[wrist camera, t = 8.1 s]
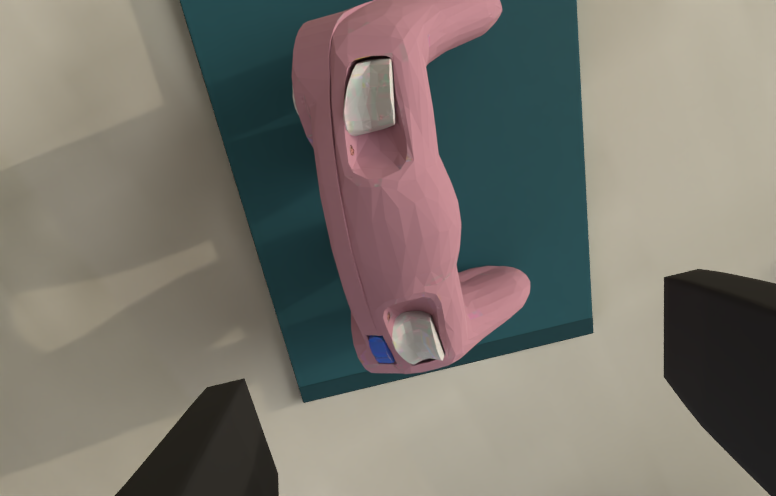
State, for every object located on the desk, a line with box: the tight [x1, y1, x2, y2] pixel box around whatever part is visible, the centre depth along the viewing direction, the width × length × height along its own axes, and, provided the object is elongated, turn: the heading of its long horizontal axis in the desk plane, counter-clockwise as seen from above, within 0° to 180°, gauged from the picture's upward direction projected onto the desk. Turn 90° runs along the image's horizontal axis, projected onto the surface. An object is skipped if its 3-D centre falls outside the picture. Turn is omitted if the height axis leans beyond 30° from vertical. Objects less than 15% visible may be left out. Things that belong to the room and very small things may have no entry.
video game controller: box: [292, 0, 530, 374], centre depth 14 cm, size 10×5×7 cm, turn 11°
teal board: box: [180, 0, 593, 403], centre depth 17 cm, size 11×15×1 cm
